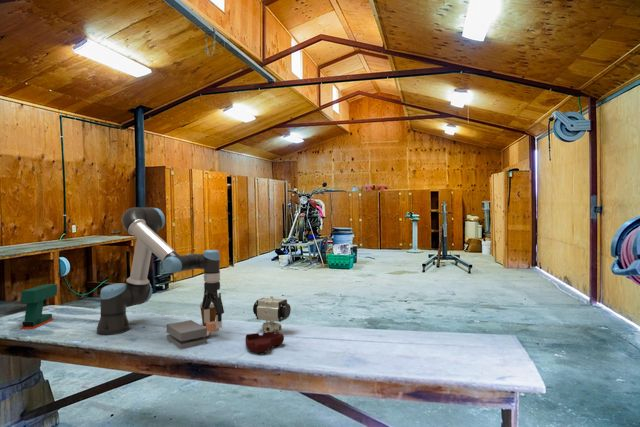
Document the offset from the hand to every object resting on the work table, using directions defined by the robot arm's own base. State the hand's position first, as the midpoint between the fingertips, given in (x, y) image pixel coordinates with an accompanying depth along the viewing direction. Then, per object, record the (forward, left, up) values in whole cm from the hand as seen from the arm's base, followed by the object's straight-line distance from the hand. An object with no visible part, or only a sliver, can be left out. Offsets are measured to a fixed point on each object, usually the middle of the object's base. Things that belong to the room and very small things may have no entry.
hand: (212, 325), depth 195 cm
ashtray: (+30, +9, -6) cm, 32 cm away
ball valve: (+14, +25, -5) cm, 29 cm away
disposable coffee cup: (-20, +7, -5) cm, 22 cm away
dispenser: (0, -13, -5) cm, 14 cm away
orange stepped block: (0, -6, -3) cm, 7 cm away
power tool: (-89, -60, -5) cm, 108 cm away
